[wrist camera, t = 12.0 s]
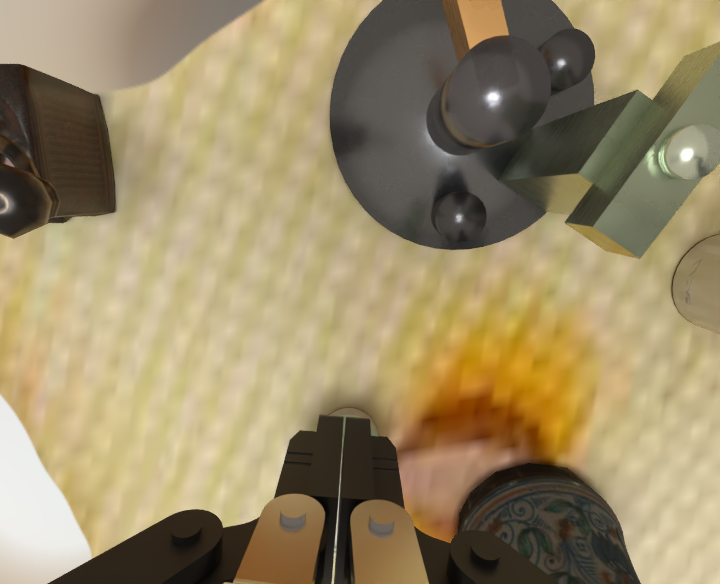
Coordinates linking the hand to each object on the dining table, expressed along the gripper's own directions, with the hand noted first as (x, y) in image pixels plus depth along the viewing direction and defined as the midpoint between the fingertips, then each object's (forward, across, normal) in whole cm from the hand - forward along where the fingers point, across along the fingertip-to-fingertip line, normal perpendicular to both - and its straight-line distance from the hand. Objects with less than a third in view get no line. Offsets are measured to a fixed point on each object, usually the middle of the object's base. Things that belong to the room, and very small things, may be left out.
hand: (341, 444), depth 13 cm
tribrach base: (+29, -8, -14) cm, 33 cm away
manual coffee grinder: (+29, +25, -8) cm, 39 cm away
